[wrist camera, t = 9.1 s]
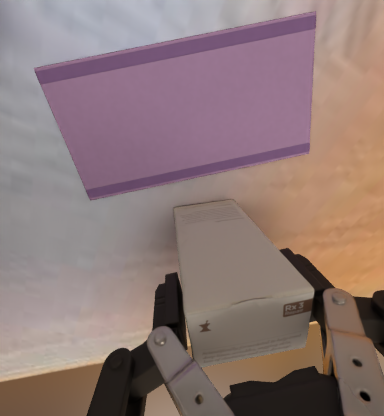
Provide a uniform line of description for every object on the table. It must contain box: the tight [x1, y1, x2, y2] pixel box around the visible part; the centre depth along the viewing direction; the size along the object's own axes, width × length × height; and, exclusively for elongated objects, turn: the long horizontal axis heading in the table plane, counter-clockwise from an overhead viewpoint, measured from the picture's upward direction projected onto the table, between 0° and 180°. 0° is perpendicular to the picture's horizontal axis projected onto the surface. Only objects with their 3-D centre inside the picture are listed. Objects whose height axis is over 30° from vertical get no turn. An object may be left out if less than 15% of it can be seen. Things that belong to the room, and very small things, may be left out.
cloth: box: [34, 11, 316, 200], centre depth 17 cm, size 20×10×1 cm, turn 101°
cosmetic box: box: [173, 199, 314, 368], centre depth 15 cm, size 6×4×12 cm
